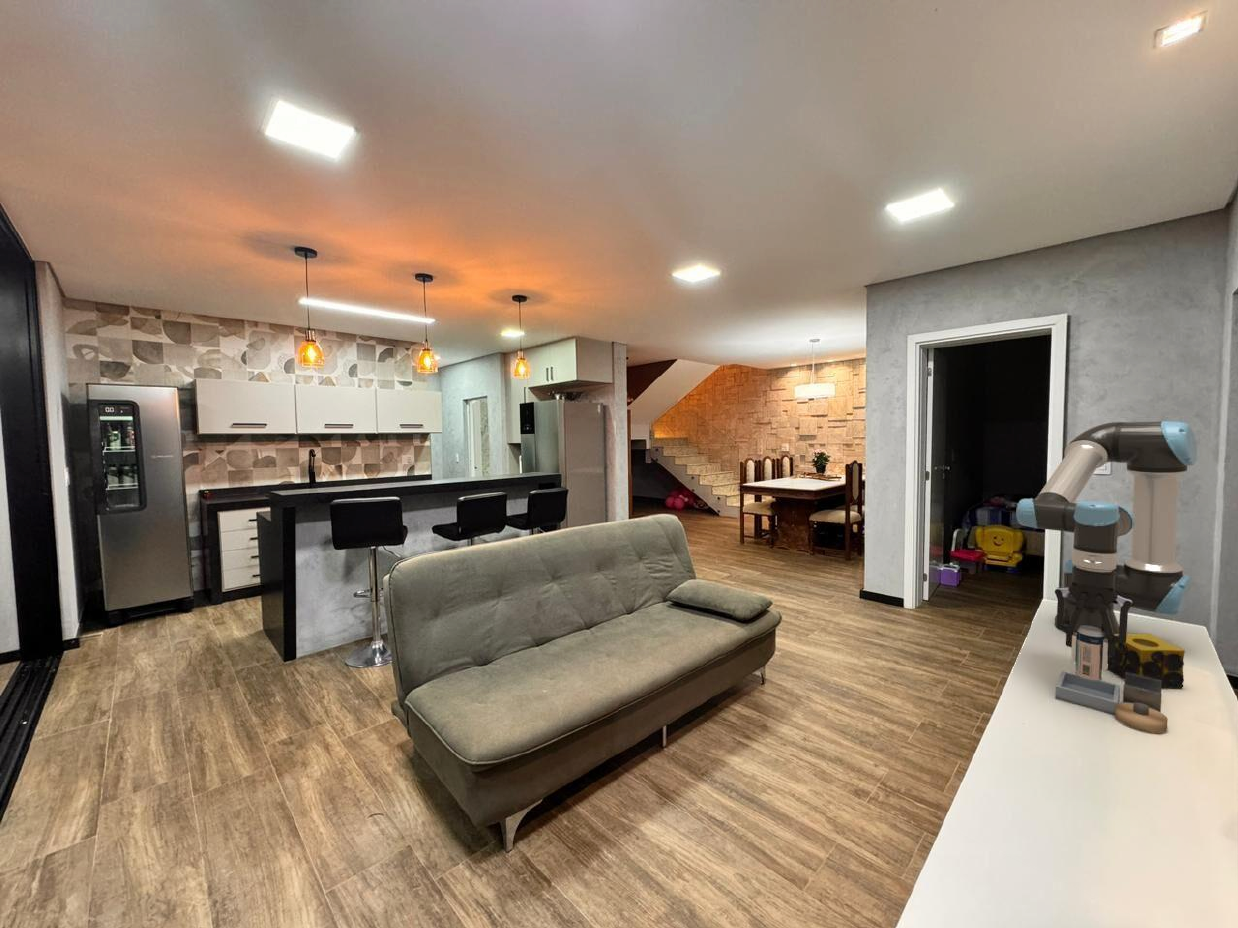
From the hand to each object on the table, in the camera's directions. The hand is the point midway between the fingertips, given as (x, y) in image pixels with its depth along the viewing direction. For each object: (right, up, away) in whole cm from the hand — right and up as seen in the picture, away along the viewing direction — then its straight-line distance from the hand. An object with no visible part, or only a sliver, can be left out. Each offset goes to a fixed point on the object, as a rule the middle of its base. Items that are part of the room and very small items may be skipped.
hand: (1088, 663), depth 123 cm
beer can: (0, -4, 0) cm, 4 cm away
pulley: (+3, -9, -10) cm, 13 cm away
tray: (0, -8, +1) cm, 8 cm away
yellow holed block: (+22, -7, +9) cm, 25 cm away
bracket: (+10, -8, -2) cm, 13 cm away
